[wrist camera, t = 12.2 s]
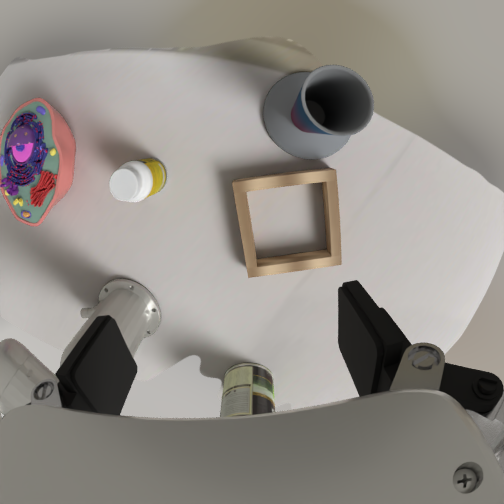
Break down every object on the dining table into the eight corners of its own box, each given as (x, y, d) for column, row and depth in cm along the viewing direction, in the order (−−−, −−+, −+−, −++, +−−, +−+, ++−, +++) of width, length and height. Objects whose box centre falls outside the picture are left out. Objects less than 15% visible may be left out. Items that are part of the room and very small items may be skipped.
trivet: (270, 164, 38) (270, 164, 37) (256, 77, 33) (256, 76, 32) (357, 155, 37) (359, 155, 36) (345, 72, 32) (346, 71, 32)
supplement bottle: (163, 153, 37) (137, 156, 28) (172, 188, 39) (148, 201, 30) (131, 163, 38) (99, 170, 28) (140, 197, 40) (111, 212, 30)
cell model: (28, 211, 40) (-10, 229, 29) (29, 109, 33) (-13, 110, 22) (92, 215, 41) (53, 237, 30) (96, 95, 33) (54, 87, 23)
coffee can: (278, 365, 52) (283, 422, 38) (267, 396, 55) (270, 448, 42) (226, 358, 51) (219, 416, 38) (221, 390, 55) (215, 443, 42)
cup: (340, 109, 34) (385, 93, 20) (317, 148, 36) (352, 150, 22) (298, 84, 33) (323, 51, 19) (275, 123, 35) (286, 109, 21)
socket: (248, 269, 44) (248, 277, 41) (233, 179, 39) (232, 182, 36) (336, 256, 43) (341, 264, 40) (330, 167, 38) (335, 169, 35)
